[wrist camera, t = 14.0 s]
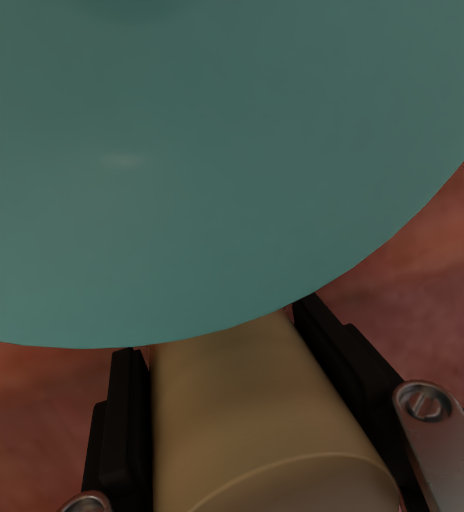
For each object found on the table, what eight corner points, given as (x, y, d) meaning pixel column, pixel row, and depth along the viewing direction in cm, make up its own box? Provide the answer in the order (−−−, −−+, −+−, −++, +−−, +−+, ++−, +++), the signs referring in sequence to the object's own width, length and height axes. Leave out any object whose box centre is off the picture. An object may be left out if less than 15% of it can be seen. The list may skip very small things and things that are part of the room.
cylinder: (130, 265, 13) (115, 521, 5) (253, 231, 14) (404, 418, 6) (166, 361, 16) (192, 646, 8) (271, 328, 16) (399, 561, 8)
